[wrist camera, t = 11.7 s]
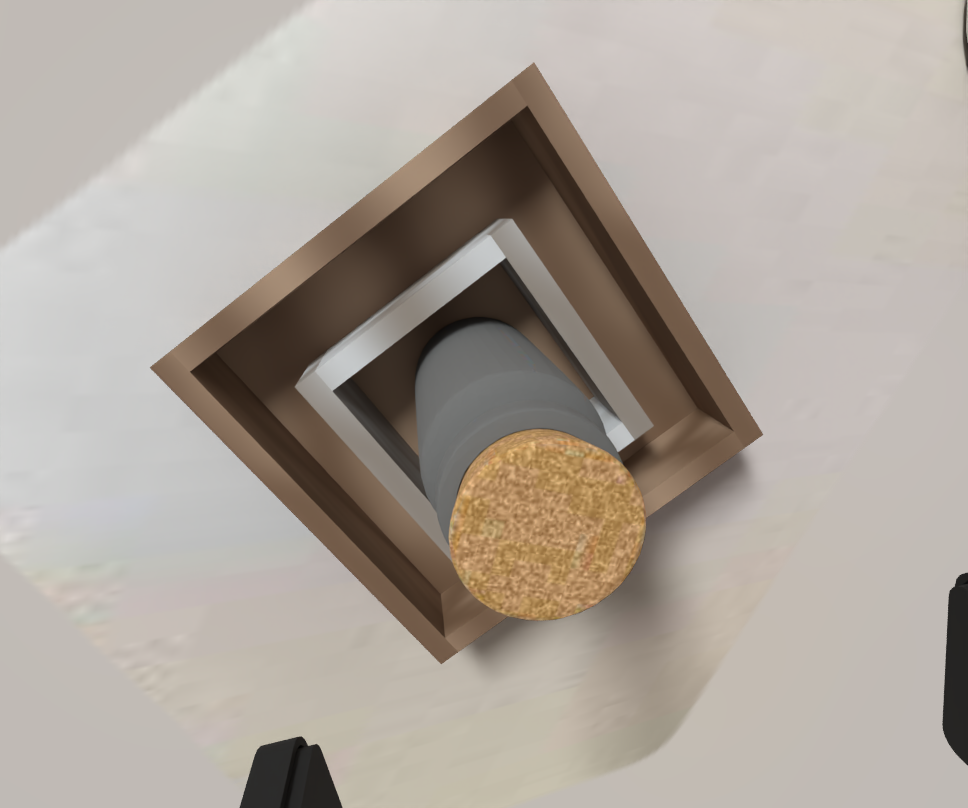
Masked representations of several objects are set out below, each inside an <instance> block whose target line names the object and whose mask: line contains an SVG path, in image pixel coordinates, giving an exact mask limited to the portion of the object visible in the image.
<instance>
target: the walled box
mask: <svg viewBox="0 0 968 808" xmlns="http://www.w3.org/2000/svg"><path fill="white" fill-rule="evenodd" d="M471 317H487V318H493V319H497V320H500V321H502V322H504V323H507V324H509V325H511V326H512V327H514V328H515V329H517V330H518V331H519V332H521V333H522V334H523V335H524V336H525V337H526V338H528V339H529V340H530V341H531V342H532V343H533V344H534V345H535V346H536V347H537V348H538V349H539V350H540V351H541V352H542V353H543V354H544V355H545V356H546V357H547V358H548V359H550V360H551V361H552V362H553V363H554V364H555V365H556V366H557V367H558V368H559V369H560V370H561V371H562V372H563V373H564V374H565V375H566V376H567V377H568V378H569V379H570V380H571V381H572V382H573V383H574V384H575V385H576V386H577V387H578V388H579V389H580V390H581V391H582V393H583V394H584V395H585V396H586V397H587V398H588V399H589V400H590V402H591V403H592V404H593V406H594V407H595V409H596V410H597V412H598V414H599V416H600V418H601V420H602V422H603V425H604V428H605V431H606V435H607V436H608V437H609V439H610V440H611V442H612V443H613V445H614V446H615V448H616V450H617V452H618V454H619V456H620V458H621V460H622V463H623V465H624V467H625V468H626V469H627V470H628V471H629V472H630V474H631V475H632V477H633V478H634V480H635V482H636V483H637V485H638V487H639V489H640V491H641V494H642V497H643V500H644V505H645V511H646V518H647V517H648V516H650V515H651V514H653V513H654V512H655V511H657V510H658V509H660V508H661V507H662V506H664V505H665V504H667V503H668V502H669V501H671V500H672V499H674V498H675V497H676V496H678V495H679V494H681V493H682V492H683V491H685V490H686V489H688V488H689V487H690V486H692V485H693V484H695V483H696V482H697V481H699V480H700V479H702V478H703V477H705V476H706V475H707V474H709V473H710V472H712V471H713V470H714V469H716V468H717V467H719V466H720V465H721V464H723V463H724V462H726V461H727V460H728V459H730V458H731V457H733V456H734V455H735V454H737V453H738V452H740V451H741V450H742V449H744V448H745V447H747V446H748V445H749V444H751V443H752V442H754V441H755V440H756V439H758V438H759V437H761V436H762V435H763V434H762V432H761V430H760V429H759V427H758V425H757V424H756V422H755V421H754V419H753V417H752V416H751V414H750V412H749V411H748V409H747V408H746V406H745V404H744V403H743V401H742V399H741V398H740V396H739V395H738V393H737V391H736V390H735V388H734V386H733V385H732V383H731V382H730V380H729V378H728V377H727V375H726V373H725V372H724V370H723V369H722V367H721V365H720V364H719V362H718V360H717V359H716V357H715V356H714V354H713V352H712V351H711V349H710V347H709V346H708V344H707V343H706V341H705V339H704V338H703V336H702V334H701V333H700V331H699V330H698V328H697V326H696V325H695V323H694V321H693V320H692V318H691V317H690V315H689V313H688V312H687V310H686V308H685V307H684V305H683V304H682V302H681V300H680V299H679V297H678V295H677V294H676V292H675V291H674V289H673V287H672V286H671V284H670V282H669V281H668V279H667V278H666V276H665V274H664V273H663V271H662V269H661V268H660V266H659V265H658V263H657V261H656V260H655V258H654V256H653V255H652V253H651V252H650V250H649V248H648V247H647V245H646V243H645V242H644V240H643V239H642V237H641V235H640V234H639V232H638V230H637V229H636V227H635V226H634V224H633V222H632V221H631V219H630V217H629V216H628V214H627V213H626V211H625V209H624V208H623V206H622V204H621V203H620V201H619V200H618V198H617V196H616V195H615V193H614V191H613V190H612V188H611V187H610V185H609V183H608V182H607V180H606V178H605V177H604V175H603V174H602V172H601V170H600V169H599V167H598V165H597V164H596V162H595V161H594V159H593V157H592V156H591V154H590V152H589V151H588V149H587V148H586V146H585V144H584V143H583V141H582V139H581V138H580V136H579V135H578V133H577V131H576V130H575V128H574V126H573V125H572V123H571V122H570V120H569V118H568V117H567V115H566V113H565V112H564V110H563V109H562V107H561V105H560V104H559V102H558V100H557V99H556V97H555V96H554V94H553V92H552V91H551V89H550V87H549V86H548V84H547V83H546V81H545V79H544V78H543V76H542V74H541V73H540V71H539V70H538V68H537V66H536V65H535V63H533V64H531V65H530V66H529V67H528V68H526V69H525V70H524V71H523V72H521V73H520V74H519V75H517V76H516V77H515V78H514V79H512V80H511V81H510V82H509V83H507V84H506V85H505V86H504V87H502V88H501V89H500V90H499V91H497V92H496V93H495V94H494V95H492V96H491V97H490V98H489V99H487V100H486V101H485V102H484V103H482V104H481V105H480V106H478V107H477V108H476V109H475V110H473V111H472V112H471V113H470V114H468V115H467V116H466V117H465V118H463V119H462V120H461V121H460V122H458V123H457V124H456V125H455V126H453V127H452V128H451V129H450V130H448V131H447V132H446V133H444V134H443V135H442V136H441V137H439V138H438V139H437V140H436V141H434V142H433V143H432V144H431V145H429V146H428V147H427V148H426V149H424V150H423V151H422V152H421V153H419V154H418V155H417V156H416V157H414V158H413V159H412V160H411V161H409V162H408V163H407V164H405V165H404V166H403V167H402V168H400V169H399V170H398V171H397V172H395V173H394V174H393V175H392V176H390V177H389V178H388V179H387V180H385V181H384V182H383V183H382V184H380V185H379V186H378V187H377V188H375V189H374V190H373V191H371V192H370V193H369V194H368V195H366V196H365V197H364V198H363V199H361V200H360V201H359V202H358V203H356V204H355V205H354V206H353V207H351V208H350V209H349V210H348V211H346V212H345V213H344V214H343V215H341V216H340V217H339V218H338V219H336V220H335V221H334V222H332V223H331V224H330V225H329V226H327V227H326V228H325V229H324V230H322V231H321V232H320V233H319V234H317V235H316V236H315V237H314V238H312V239H311V240H310V241H309V242H307V243H306V244H305V245H304V246H302V247H301V248H300V249H298V250H297V251H296V252H295V253H293V254H292V255H291V256H290V257H288V258H287V259H286V260H285V261H283V262H282V263H281V264H280V265H278V266H277V267H276V268H275V269H273V270H272V271H271V272H270V273H268V274H267V275H266V276H265V277H263V278H262V279H261V280H259V281H258V282H257V283H256V284H254V285H253V286H252V287H251V288H249V289H248V290H247V291H246V292H244V293H243V294H242V295H241V296H239V297H238V298H237V299H236V300H234V301H233V302H232V303H231V304H229V305H228V306H227V307H225V308H224V309H223V310H222V311H220V312H219V313H218V314H217V315H215V316H214V317H213V318H212V319H210V320H209V321H208V322H207V323H205V324H204V325H203V326H202V327H200V328H199V329H198V330H197V331H195V332H194V333H193V334H192V335H190V336H189V337H188V338H186V339H185V340H184V341H183V342H181V343H180V344H179V345H178V346H176V347H175V348H174V349H173V350H171V351H170V352H169V353H168V354H166V355H165V356H164V357H163V358H161V359H160V360H159V361H158V362H156V363H155V364H154V365H152V366H151V367H150V368H151V369H152V370H153V371H154V372H155V373H156V374H157V375H158V376H159V377H160V378H161V379H162V380H163V381H164V382H165V384H166V385H167V386H168V387H169V388H170V389H171V390H172V391H173V392H174V393H175V394H176V395H177V396H178V397H179V398H180V399H181V400H182V401H183V402H184V403H185V404H186V405H187V406H188V407H189V408H190V409H191V410H192V411H193V412H194V413H195V414H196V415H197V416H198V417H199V418H200V419H201V420H202V421H203V422H204V423H205V424H206V425H207V426H208V427H209V428H210V429H211V430H212V431H213V432H214V433H215V434H216V435H217V436H218V437H219V438H220V439H221V441H222V442H223V443H224V444H225V445H226V446H227V447H228V448H229V449H230V450H231V451H232V452H233V453H234V454H235V455H236V456H237V457H238V458H239V459H240V460H241V461H242V462H243V463H244V464H245V465H246V466H247V467H248V468H249V469H250V470H251V471H252V472H253V473H254V474H255V475H256V476H257V477H258V478H259V479H260V480H261V481H262V482H263V483H264V484H265V485H266V486H267V487H268V488H269V489H270V490H271V491H272V492H273V493H274V494H275V495H276V496H277V498H278V499H279V500H280V501H281V502H282V503H283V504H284V505H285V506H286V507H287V508H288V509H289V510H290V511H291V512H292V513H293V514H294V515H295V516H296V517H297V518H298V519H299V520H300V521H301V522H302V523H303V524H304V525H305V526H306V527H307V528H308V529H309V530H310V531H311V532H312V533H313V534H314V535H315V536H316V537H317V538H318V539H319V540H320V541H321V542H322V543H323V544H324V545H325V546H326V547H327V548H328V549H329V550H330V551H331V552H332V553H333V555H334V556H335V557H336V558H337V559H338V560H339V561H340V562H341V563H342V564H343V565H344V566H345V567H346V568H347V569H348V570H349V571H350V572H351V573H352V574H353V575H354V576H355V577H356V578H357V579H358V580H359V581H360V582H361V583H362V584H363V585H364V586H365V587H366V588H367V589H368V590H369V591H370V592H371V593H372V594H373V595H374V596H375V597H376V598H377V599H378V600H379V601H380V602H381V603H382V604H383V605H384V606H385V607H386V608H387V609H388V610H389V612H390V613H391V614H392V615H393V616H394V617H395V618H396V619H397V620H398V621H399V622H400V623H401V624H402V625H403V626H404V627H405V628H406V629H407V630H408V631H409V632H410V633H411V634H412V635H413V636H414V637H415V638H416V639H417V640H418V641H419V642H420V643H421V644H422V645H423V646H424V647H425V648H426V649H427V650H428V651H429V652H430V653H431V654H432V655H433V656H434V657H435V658H436V659H437V660H438V661H439V662H440V663H441V664H442V663H443V662H445V661H446V660H448V659H449V658H450V657H452V656H453V655H455V654H456V653H458V652H459V651H460V650H462V649H463V648H465V647H466V646H467V645H469V644H470V643H472V642H473V641H474V640H476V639H477V638H479V637H480V636H481V635H483V634H484V633H486V632H487V631H488V630H490V629H491V628H493V627H494V626H495V625H497V624H498V623H500V622H501V621H502V620H504V619H505V618H507V617H508V616H507V615H504V614H501V613H499V612H496V611H495V610H493V609H491V608H489V607H488V606H486V605H485V604H483V603H482V602H480V601H479V600H478V599H476V598H475V597H474V596H473V595H472V594H471V592H470V591H469V590H468V589H467V588H466V587H465V586H464V584H463V583H462V581H461V580H460V578H459V576H458V574H457V572H456V570H455V568H454V565H453V562H452V559H451V555H450V547H449V545H448V544H447V542H446V540H445V538H444V536H443V533H442V531H441V528H440V525H439V522H438V518H437V512H436V511H435V510H434V509H433V507H432V505H431V503H430V501H429V499H428V497H427V495H426V492H425V488H424V485H423V481H422V478H421V472H420V462H419V451H418V435H417V420H416V401H415V373H416V367H417V363H418V360H419V357H420V355H421V353H422V351H423V349H424V347H425V346H426V344H427V343H428V342H429V340H430V339H431V338H432V337H433V336H434V335H435V334H436V333H437V332H438V331H440V330H441V329H442V328H444V327H445V326H447V325H449V324H451V323H453V322H455V321H458V320H461V319H466V318H471Z"/></svg>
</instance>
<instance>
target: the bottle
mask: <svg viewBox="0 0 968 808" xmlns="http://www.w3.org/2000/svg"><path fill="white" fill-rule="evenodd" d="M415 401H416V420H417V435H418V451H419V462H420V472H421V478H422V481H423V485H424V488H425V492H426V495H427V497H428V499H429V501H430V503H431V505H432V507H433V509H434V510H435V511H436V512H437V518H438V522H439V525H440V528H441V531H442V533H443V536H444V538H445V540H446V542H447V544H448V545H449V547H450V555H451V559H452V562H453V565H454V568H455V570H456V572H457V574H458V576H459V578H460V580H461V581H462V583H463V584H464V586H465V587H466V588H467V589H468V590H469V591H470V592H471V594H472V595H473V596H474V597H475V598H476V599H478V600H479V601H480V602H482V603H483V604H485V605H486V606H488V607H489V608H491V609H493V610H495V611H496V612H499V613H501V614H504V615H507V616H509V617H514V618H519V619H524V620H555V619H560V618H564V617H567V616H571V615H574V614H577V613H580V612H582V611H584V610H586V609H588V608H590V607H593V606H594V605H596V604H597V603H599V602H600V601H601V600H603V599H604V598H606V597H607V596H609V595H610V594H611V593H612V592H613V591H614V590H615V589H617V588H618V587H619V586H620V585H621V584H622V582H623V581H624V580H625V578H626V577H627V576H628V575H629V573H630V572H631V570H632V568H633V566H634V565H635V563H636V561H637V559H638V557H639V555H640V552H641V549H642V545H643V542H644V538H645V531H646V511H645V505H644V500H643V497H642V494H641V491H640V489H639V487H638V485H637V483H636V482H635V480H634V478H633V477H632V475H631V474H630V472H629V471H628V470H627V469H626V468H625V467H624V465H623V463H622V460H621V458H620V456H619V454H618V452H617V450H616V448H615V446H614V445H613V443H612V442H611V440H610V439H609V437H608V436H607V435H606V431H605V428H604V425H603V422H602V420H601V418H600V416H599V414H598V412H597V410H596V409H595V407H594V406H593V404H592V403H591V402H590V400H589V399H588V398H587V397H586V396H585V395H584V394H583V393H582V391H581V390H580V389H579V388H578V387H577V386H576V385H575V384H574V383H573V382H572V381H571V380H570V379H569V378H568V377H567V376H566V375H565V374H564V373H563V372H562V371H561V370H560V369H559V368H558V367H557V366H556V365H555V364H554V363H553V362H552V361H551V360H550V359H548V358H547V357H546V356H545V355H544V354H543V353H542V352H541V351H540V350H539V349H538V348H537V347H536V346H535V345H534V344H533V343H532V342H531V341H530V340H529V339H528V338H526V337H525V336H524V335H523V334H522V333H521V332H519V331H518V330H517V329H515V328H514V327H512V326H511V325H509V324H507V323H504V322H502V321H500V320H497V319H493V318H487V317H471V318H466V319H461V320H458V321H455V322H453V323H451V324H449V325H447V326H445V327H444V328H442V329H441V330H440V331H438V332H437V333H436V334H435V335H434V336H433V337H432V338H431V339H430V340H429V342H428V343H427V344H426V346H425V347H424V349H423V351H422V353H421V355H420V357H419V360H418V363H417V367H416V373H415Z"/></svg>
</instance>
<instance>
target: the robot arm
mask: <svg viewBox="0 0 968 808" xmlns="http://www.w3.org/2000/svg"><path fill="white" fill-rule="evenodd" d="M966 33H967V41H968V0H967V21H966ZM943 731H944V734H945V737H946V739H947V741H948V743H949V745H950V746H951V748H952V749H953V751H954V752H955V753H956V754H957V755H958V756H959V757H960V758H961V759H962V760H963V761H964V762H965V763H966V764H967V765H968V573H965V574H961V575H960V576H959V577H958V578H957V579H956V584H955V587H953V588H952V589H951V590H950V593H949V604H948V625H947V645H946V666H945V685H944V706H943ZM240 808H342V805H341V802H340V800H339V797H338V794H337V791H336V789H335V786H334V783H333V781H332V778H331V775H330V772H329V770H328V767H327V764H326V762H325V759H324V756H323V754H322V751H321V749H320V747H319V745H317V744H315V745H311V746H308V745H307V743H306V741H305V739H304V738H303V737H302V736H301V737H296V738H292V739H288V740H283V741H279V742H275V743H271V744H267V745H263V746H260V747H259V749H258V750H257V752H256V754H255V757H254V760H253V764H252V767H251V771H250V774H249V777H248V781H247V784H246V788H245V791H244V795H243V798H242V802H241V805H240Z"/></svg>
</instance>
